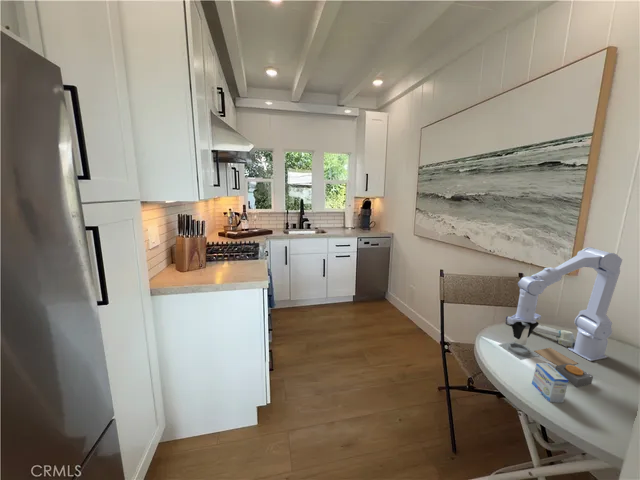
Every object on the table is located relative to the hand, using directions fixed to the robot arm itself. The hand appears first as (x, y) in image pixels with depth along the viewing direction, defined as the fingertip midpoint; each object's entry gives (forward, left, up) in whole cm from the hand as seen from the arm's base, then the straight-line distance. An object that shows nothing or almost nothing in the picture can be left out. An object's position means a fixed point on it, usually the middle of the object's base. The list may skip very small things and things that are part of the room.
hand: (521, 337), depth 108 cm
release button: (-4, +17, -6) cm, 19 cm away
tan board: (-10, +7, -6) cm, 14 cm away
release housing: (-4, +17, -6) cm, 19 cm away
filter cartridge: (0, 0, -2) cm, 2 cm away
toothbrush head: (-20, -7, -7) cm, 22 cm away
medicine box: (+12, +20, -7) cm, 24 cm away
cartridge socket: (0, 0, -6) cm, 7 cm away
